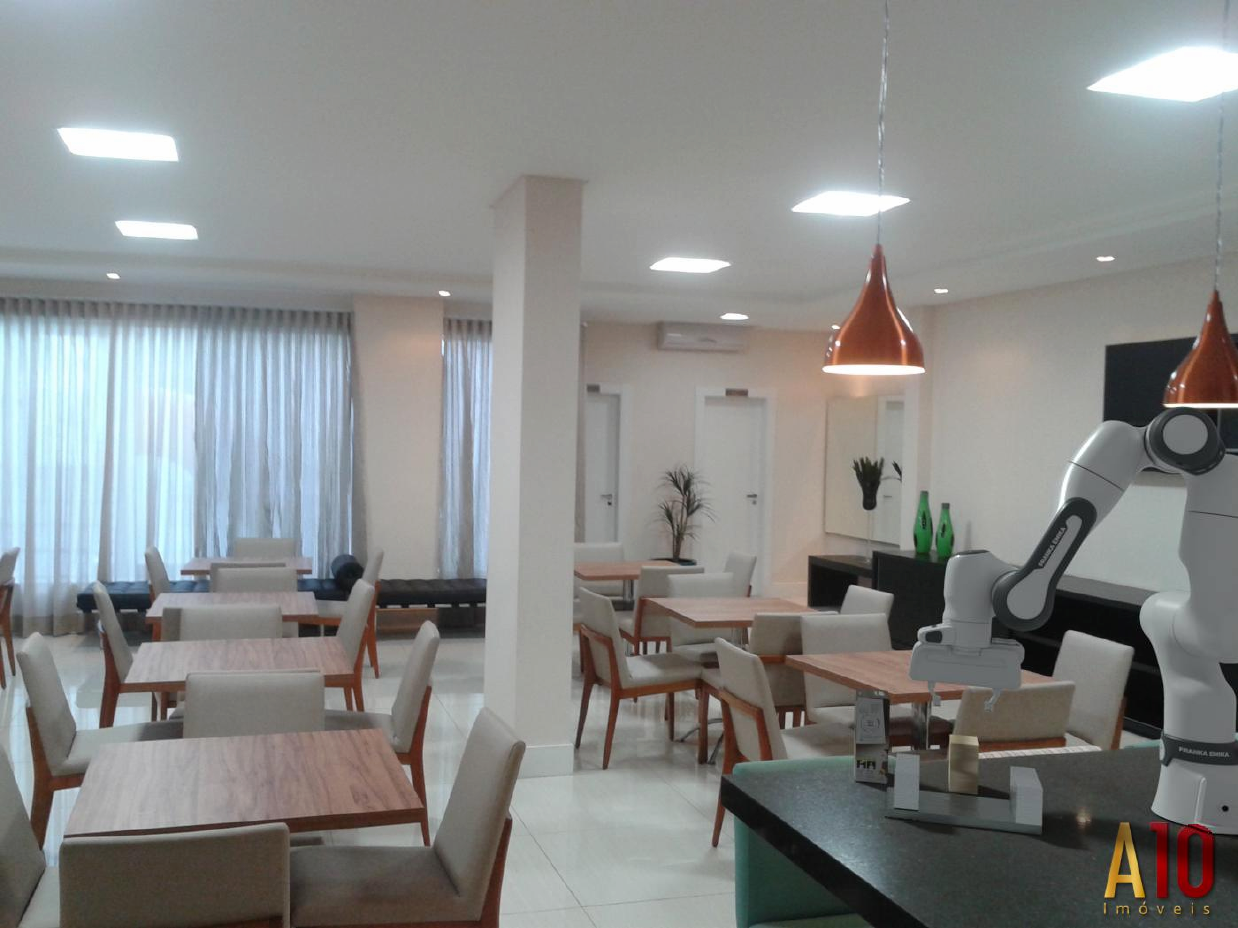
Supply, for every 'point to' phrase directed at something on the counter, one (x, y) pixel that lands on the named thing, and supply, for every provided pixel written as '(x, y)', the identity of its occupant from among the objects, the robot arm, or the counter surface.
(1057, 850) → the counter surface
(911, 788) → the block
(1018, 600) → the robot arm
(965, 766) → the maple block
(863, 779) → the coffee box
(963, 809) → the vise base
